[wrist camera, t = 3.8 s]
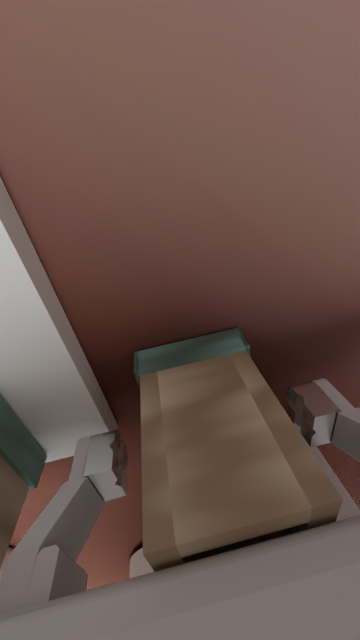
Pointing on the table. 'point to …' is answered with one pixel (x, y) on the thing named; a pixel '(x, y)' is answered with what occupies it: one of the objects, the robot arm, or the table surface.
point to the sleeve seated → (15, 471)
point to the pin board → (42, 350)
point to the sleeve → (220, 454)
